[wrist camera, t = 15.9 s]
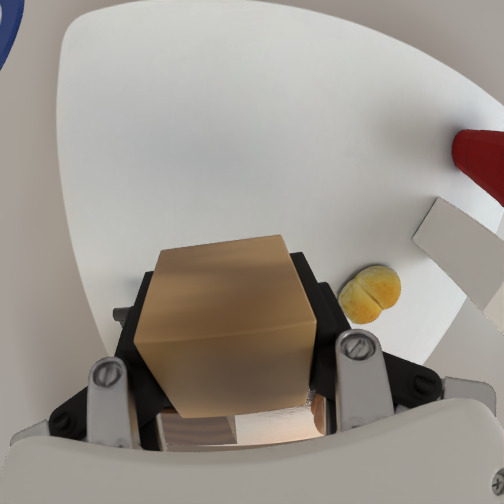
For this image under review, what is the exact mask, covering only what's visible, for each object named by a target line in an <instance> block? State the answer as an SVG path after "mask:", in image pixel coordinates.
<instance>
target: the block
mask: <svg viewBox="0 0 504 504" xmlns="http://www.w3.org/2000/svg"><path fill="white" fill-rule="evenodd" d="M316 323H317V320H316V318H315V315H314V313H313V310H312V308H311V305H310V303H309V300H308V298H307V295H306V293H305V291H304V288H303V286H302V283H301V281H300V278H299V276H298V274H297V271H296V269H295V266H294V264H293V262H292V259H291V257H290V255H289V252H288V250H287V247H286V245H285V243H284V240H283V238H282V236H281V235H272V236H264V237H256V238H249V239H241V240H233V241H225V242H218V243H210V244H203V245H195V246H188V247H181V248H174V249H166V250H162V251H161V252H160V255H159V258H158V261H157V264H156V267H155V270H154V273H153V276H152V279H151V282H150V285H149V288H148V292H147V295H146V298H145V301H144V305H143V308H142V312H141V315H140V319H139V322H138V326H137V329H136V333H135V337H134V344H135V346H136V348H137V349H138V351H139V353H140V354H141V356H142V358H143V360H144V361H145V363H146V365H147V366H148V368H149V369H150V371H151V373H152V374H153V376H154V377H155V379H156V381H157V382H158V384H159V385H160V387H161V388H162V390H163V391H164V393H165V394H166V396H167V397H168V399H169V400H170V401H171V403H172V404H173V406H174V407H175V409H176V410H177V411H178V413H179V414H180V415H181V417H182V418H201V417H219V416H231V415H241V414H250V413H258V412H266V411H272V410H279V409H285V408H290V407H296V406H301V405H305V404H306V400H307V393H308V387H309V380H310V373H311V366H312V358H313V350H314V341H315V333H316Z"/></svg>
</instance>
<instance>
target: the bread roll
mask: <svg viewBox="0 0 504 504" xmlns="http://www.w3.org/2000/svg"><path fill="white" fill-rule="evenodd" d="M400 292H401V282H400V279H399V276H398V275H397V273H396V272H395V271H394V270H392V269H391V268H388V267H386V266H371V267H368V268H366V269H364V270H362V271H361V272H359V273H358V274H357V275H356V277H355V278H354V279H352V280H350V281H349V282H348V283H347V284H346V285H345V286H344V288H343V289H342V291H341V293H340V295H339V301H338V303H339V305H340V307H341V308H342V310H343V311H344V313H345V314H346V315H347V317H348V318H349V319H350V320H351V321H352V323H356V324H366V323H370V322H372V321H374V320H375V319H377V317H378V316H379V315H380V313H381V311H382V310H384V309H387V308H390V307H392V306H393V305H394V304H395V303H396V302H397V300H398V298H399V296H400Z"/></svg>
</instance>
